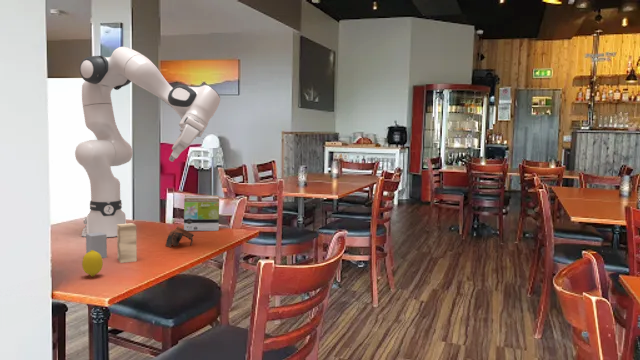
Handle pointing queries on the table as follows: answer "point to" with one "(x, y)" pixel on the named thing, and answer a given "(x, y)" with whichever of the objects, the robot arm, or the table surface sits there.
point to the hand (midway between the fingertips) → (172, 159)
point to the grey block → (97, 243)
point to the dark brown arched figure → (178, 237)
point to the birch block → (126, 242)
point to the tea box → (201, 213)
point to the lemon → (92, 263)
